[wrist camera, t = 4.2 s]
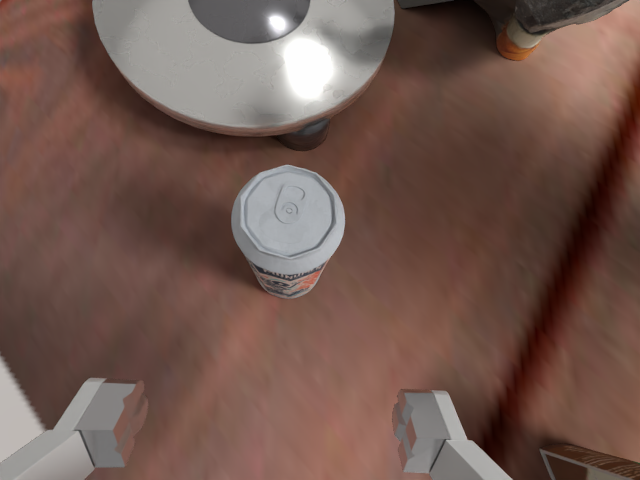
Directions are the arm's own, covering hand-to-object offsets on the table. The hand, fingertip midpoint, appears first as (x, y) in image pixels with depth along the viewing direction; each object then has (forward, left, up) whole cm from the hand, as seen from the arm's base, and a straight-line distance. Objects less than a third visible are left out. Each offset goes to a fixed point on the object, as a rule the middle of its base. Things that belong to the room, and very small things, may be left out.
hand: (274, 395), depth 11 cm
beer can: (-3, -6, -13) cm, 14 cm away
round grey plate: (-9, -25, -13) cm, 29 cm away
